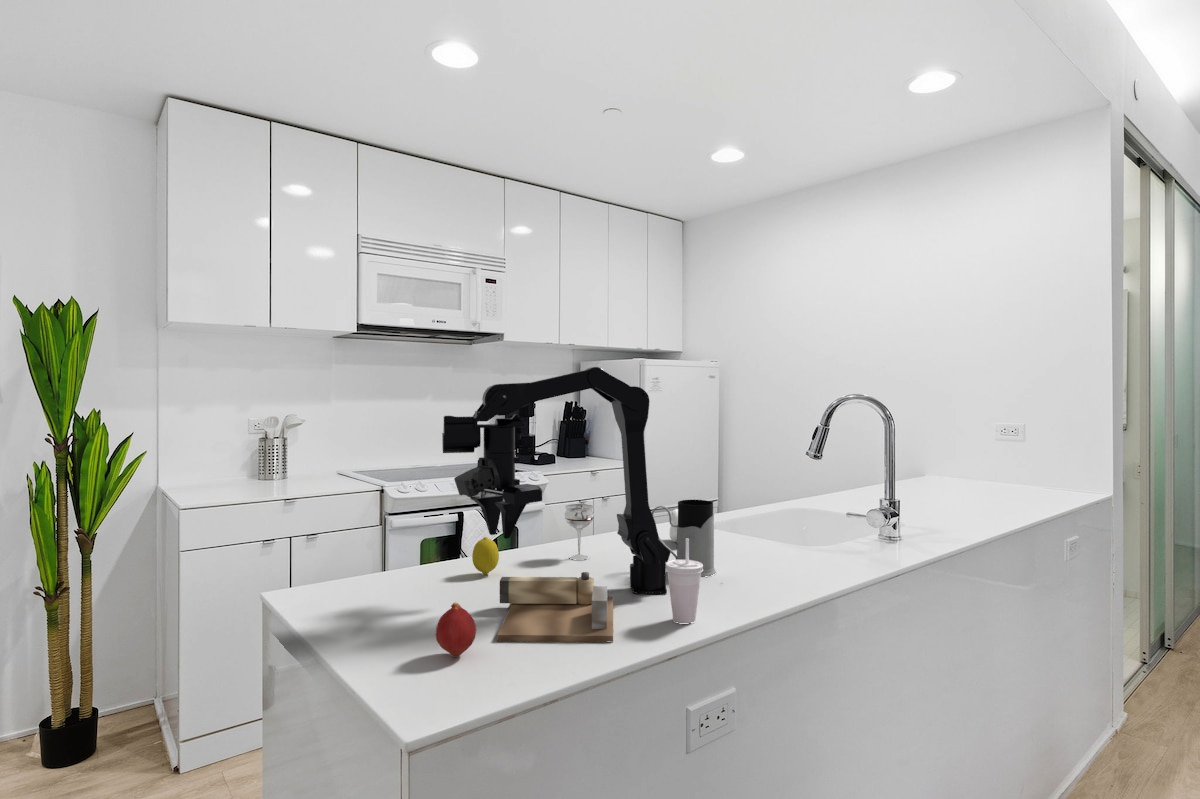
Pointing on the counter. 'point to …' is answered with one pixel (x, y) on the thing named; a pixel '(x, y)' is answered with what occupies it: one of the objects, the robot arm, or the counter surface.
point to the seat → (561, 620)
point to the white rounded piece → (675, 522)
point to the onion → (456, 630)
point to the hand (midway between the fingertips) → (499, 536)
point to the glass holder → (695, 533)
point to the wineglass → (579, 521)
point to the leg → (546, 590)
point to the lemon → (485, 555)
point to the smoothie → (684, 587)
